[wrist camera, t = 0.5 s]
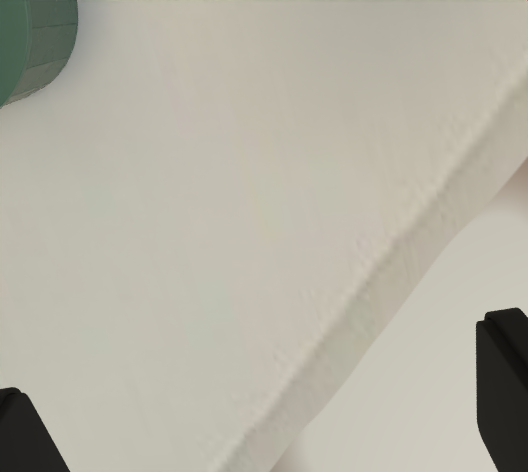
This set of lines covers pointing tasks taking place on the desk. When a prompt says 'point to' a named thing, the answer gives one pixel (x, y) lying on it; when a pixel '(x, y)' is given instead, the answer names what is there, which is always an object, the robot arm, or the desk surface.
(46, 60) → the tin
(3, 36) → the tin lid
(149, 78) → the desk surface
